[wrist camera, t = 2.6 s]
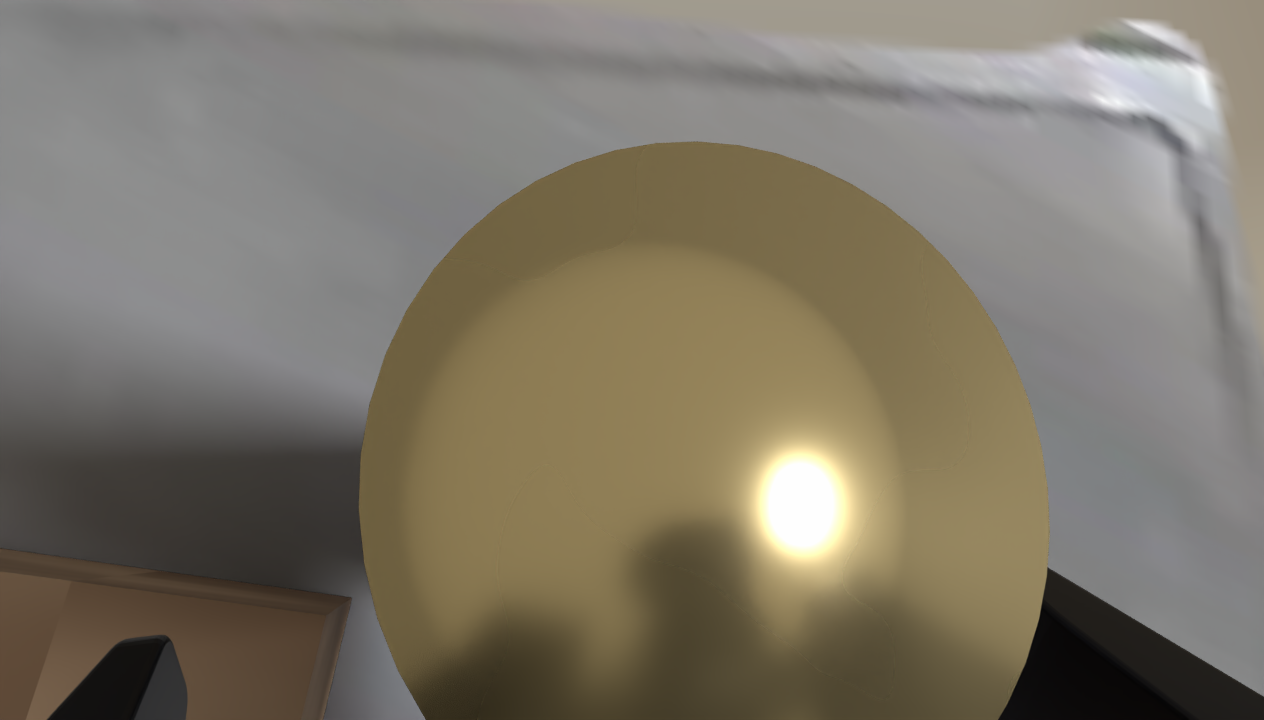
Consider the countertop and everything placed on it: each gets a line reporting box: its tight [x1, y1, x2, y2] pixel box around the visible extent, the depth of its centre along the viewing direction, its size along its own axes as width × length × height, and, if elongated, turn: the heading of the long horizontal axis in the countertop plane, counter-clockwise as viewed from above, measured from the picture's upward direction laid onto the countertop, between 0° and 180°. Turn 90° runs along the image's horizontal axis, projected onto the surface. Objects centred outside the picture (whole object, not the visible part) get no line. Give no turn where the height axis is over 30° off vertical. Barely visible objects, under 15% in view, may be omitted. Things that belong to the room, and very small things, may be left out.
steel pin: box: [359, 142, 1050, 720], centre depth 11 cm, size 4×4×13 cm
